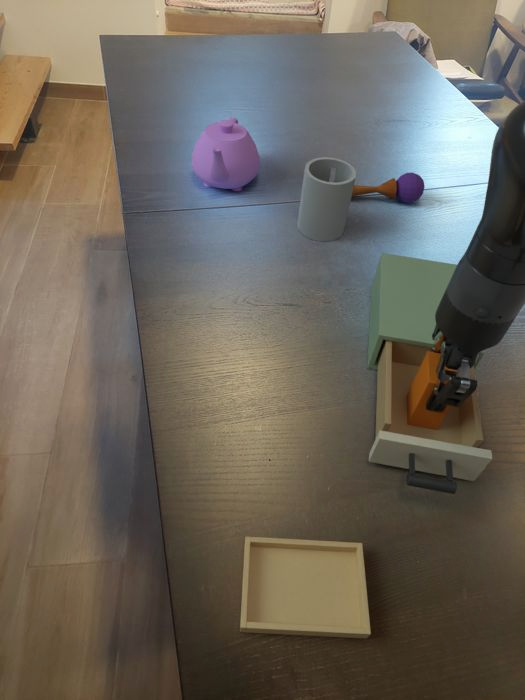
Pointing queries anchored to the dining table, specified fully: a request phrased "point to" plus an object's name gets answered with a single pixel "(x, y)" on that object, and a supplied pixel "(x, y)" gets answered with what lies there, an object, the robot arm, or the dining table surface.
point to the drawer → (423, 443)
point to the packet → (425, 394)
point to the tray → (304, 588)
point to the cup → (325, 199)
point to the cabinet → (406, 302)
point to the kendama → (396, 188)
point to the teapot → (225, 156)
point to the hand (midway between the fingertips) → (432, 390)
